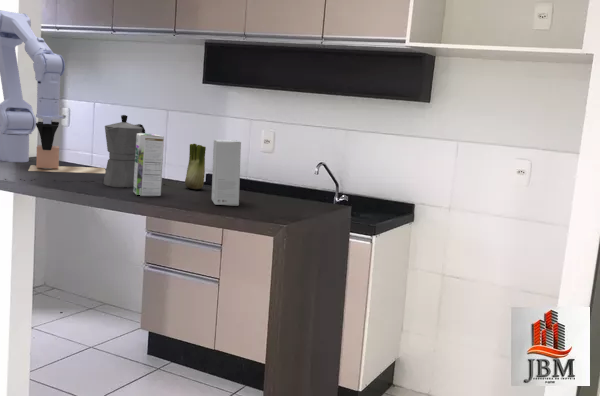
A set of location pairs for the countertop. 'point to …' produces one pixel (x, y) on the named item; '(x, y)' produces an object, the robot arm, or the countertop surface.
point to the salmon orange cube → (47, 157)
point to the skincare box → (226, 172)
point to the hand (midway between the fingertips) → (47, 148)
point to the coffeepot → (121, 153)
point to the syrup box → (148, 164)
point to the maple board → (70, 169)
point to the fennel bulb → (196, 167)
